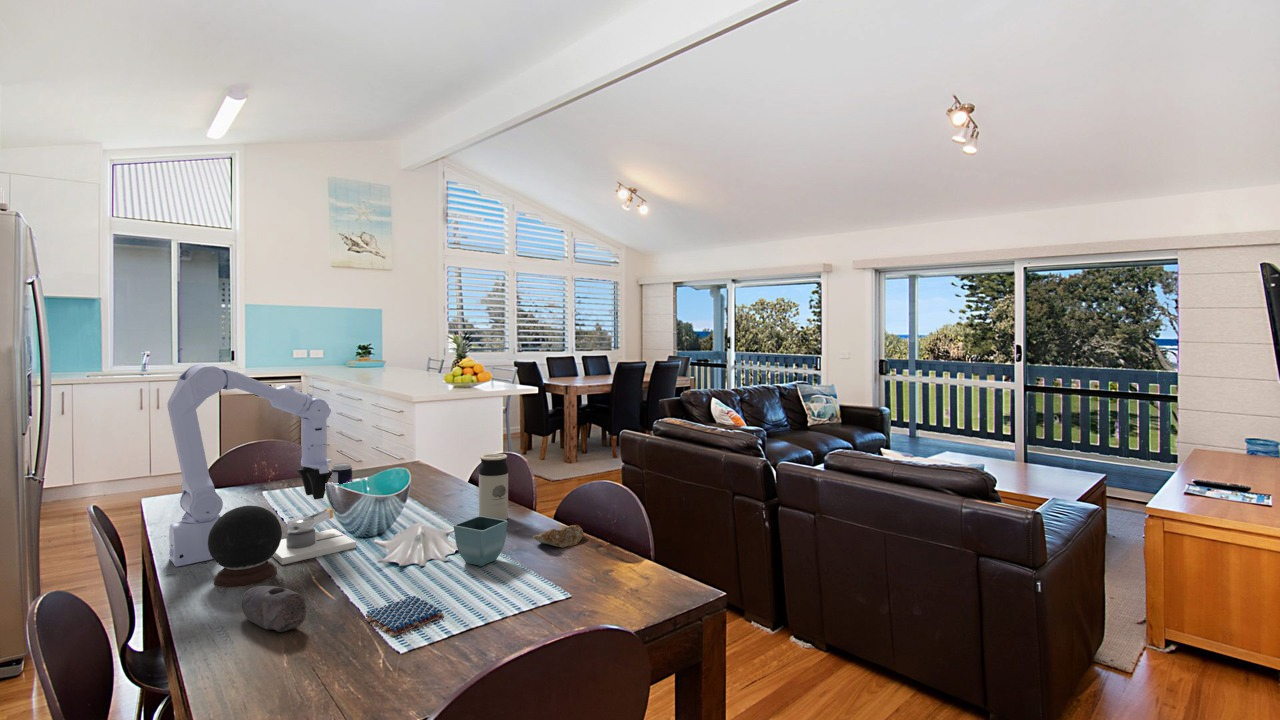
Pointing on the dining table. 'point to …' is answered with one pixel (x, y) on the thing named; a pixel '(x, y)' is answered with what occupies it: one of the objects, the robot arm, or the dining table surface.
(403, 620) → the woven mat
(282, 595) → the perforated stone tool
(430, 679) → the dining table surface
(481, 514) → the travel mug
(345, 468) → the beverage can
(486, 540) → the flower pot
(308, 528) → the lever with orange knob
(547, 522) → the dining table surface
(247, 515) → the black egg on stand
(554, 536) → the decorative stone
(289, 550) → the board
